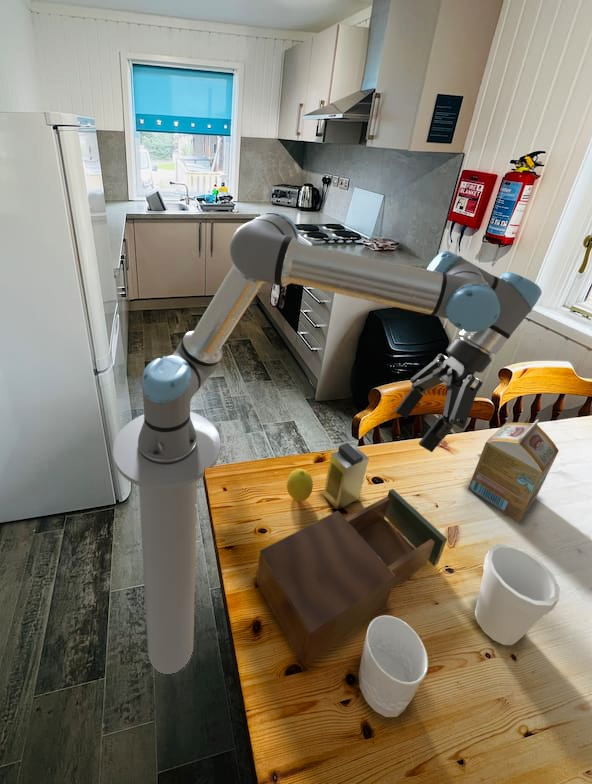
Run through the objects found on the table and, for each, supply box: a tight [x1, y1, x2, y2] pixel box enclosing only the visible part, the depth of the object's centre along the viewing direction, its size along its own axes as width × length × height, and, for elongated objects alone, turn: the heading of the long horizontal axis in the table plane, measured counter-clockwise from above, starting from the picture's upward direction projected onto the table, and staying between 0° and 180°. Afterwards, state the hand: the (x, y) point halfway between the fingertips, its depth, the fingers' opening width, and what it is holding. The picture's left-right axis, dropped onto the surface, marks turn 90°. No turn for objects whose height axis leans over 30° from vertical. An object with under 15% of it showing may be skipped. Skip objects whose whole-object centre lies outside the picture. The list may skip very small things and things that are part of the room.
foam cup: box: [474, 543, 561, 646], centre depth 64 cm, size 10×9×13 cm
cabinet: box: [255, 510, 396, 667], centre depth 67 cm, size 18×14×9 cm
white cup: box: [357, 615, 429, 718], centre depth 56 cm, size 8×8×10 cm
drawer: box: [344, 488, 448, 590], centre depth 74 cm, size 18×12×7 cm
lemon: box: [286, 468, 314, 502], centre depth 86 cm, size 6×6×8 cm
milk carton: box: [467, 418, 560, 522], centre depth 88 cm, size 11×11×19 cm
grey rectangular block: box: [322, 442, 370, 511], centre depth 86 cm, size 5×7×13 cm
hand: (411, 430), depth 82 cm, fingers open, 13 cm apart
